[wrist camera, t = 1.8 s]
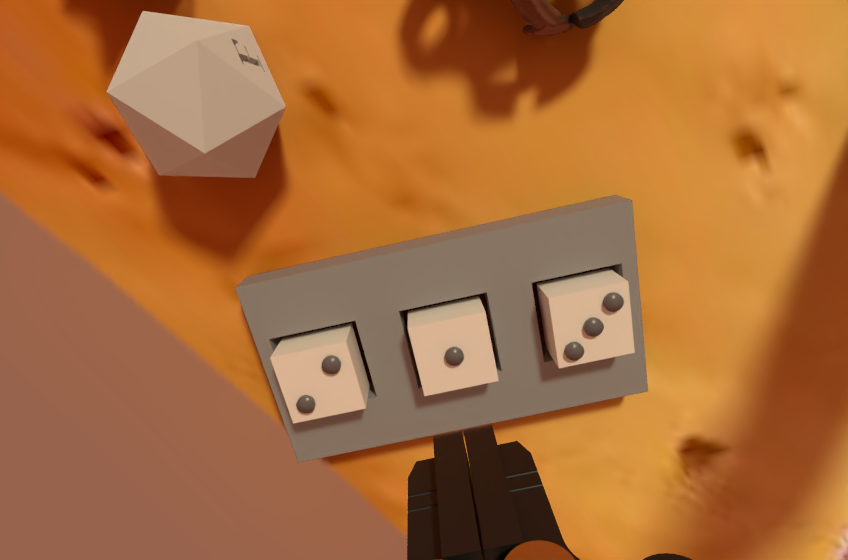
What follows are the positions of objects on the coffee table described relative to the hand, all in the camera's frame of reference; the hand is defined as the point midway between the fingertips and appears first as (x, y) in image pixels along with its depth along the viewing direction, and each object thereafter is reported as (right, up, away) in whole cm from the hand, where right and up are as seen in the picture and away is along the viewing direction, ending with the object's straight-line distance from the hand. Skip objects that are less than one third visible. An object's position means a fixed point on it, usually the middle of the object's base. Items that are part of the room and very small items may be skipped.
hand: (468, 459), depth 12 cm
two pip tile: (-8, -1, +22) cm, 23 cm away
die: (-13, +16, +18) cm, 27 cm away
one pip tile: (+1, +1, +21) cm, 21 cm away
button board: (+1, +1, +23) cm, 23 cm away
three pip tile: (+10, +2, +21) cm, 23 cm away
